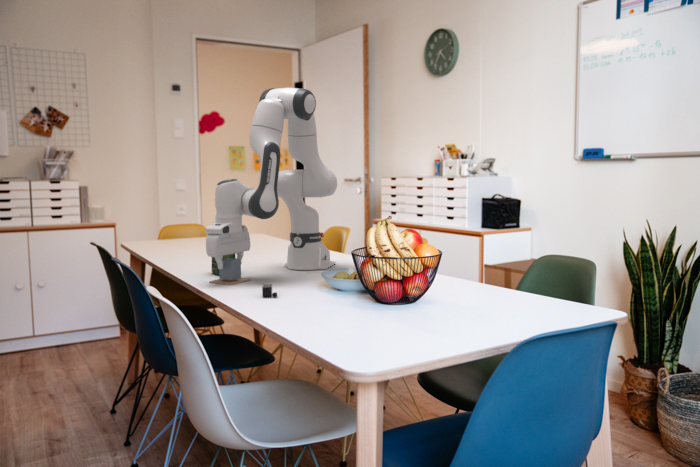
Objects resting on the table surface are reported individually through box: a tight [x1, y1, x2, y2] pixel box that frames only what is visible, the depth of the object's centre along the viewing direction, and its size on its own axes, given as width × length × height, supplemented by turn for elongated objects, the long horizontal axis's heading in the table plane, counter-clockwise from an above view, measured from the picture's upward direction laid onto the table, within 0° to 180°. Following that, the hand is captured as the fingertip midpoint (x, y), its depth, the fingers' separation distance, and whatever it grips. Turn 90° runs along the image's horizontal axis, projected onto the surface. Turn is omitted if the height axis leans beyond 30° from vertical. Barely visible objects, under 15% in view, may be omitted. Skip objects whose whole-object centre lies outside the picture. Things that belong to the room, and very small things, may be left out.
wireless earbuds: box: [261, 283, 278, 298], centre depth 174 cm, size 4×7×3 cm, turn 5°
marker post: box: [208, 277, 251, 286], centre depth 198 cm, size 10×10×7 cm
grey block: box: [218, 258, 242, 280], centre depth 197 cm, size 5×5×7 cm
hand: (229, 266), depth 197 cm, fingers open, 8 cm apart
